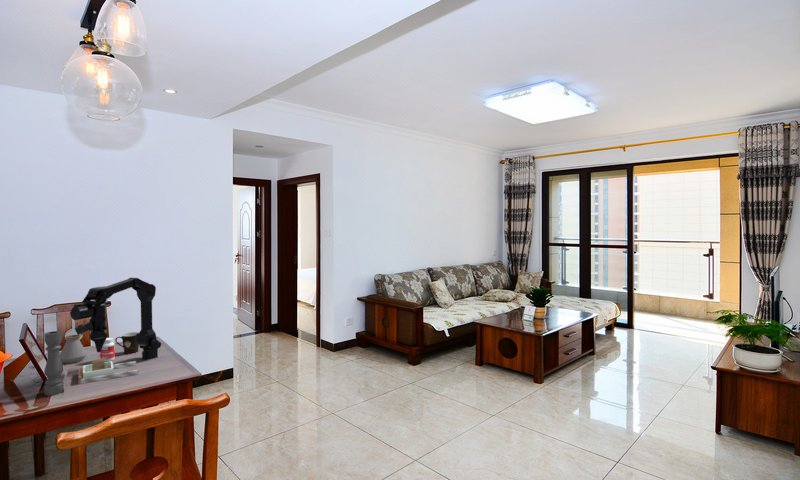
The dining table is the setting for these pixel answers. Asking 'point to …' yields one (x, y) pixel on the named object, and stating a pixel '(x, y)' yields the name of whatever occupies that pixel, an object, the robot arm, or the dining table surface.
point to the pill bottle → (108, 350)
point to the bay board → (110, 376)
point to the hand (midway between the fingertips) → (98, 349)
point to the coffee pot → (73, 350)
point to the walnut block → (98, 364)
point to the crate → (89, 373)
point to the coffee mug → (129, 343)
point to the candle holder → (53, 364)
